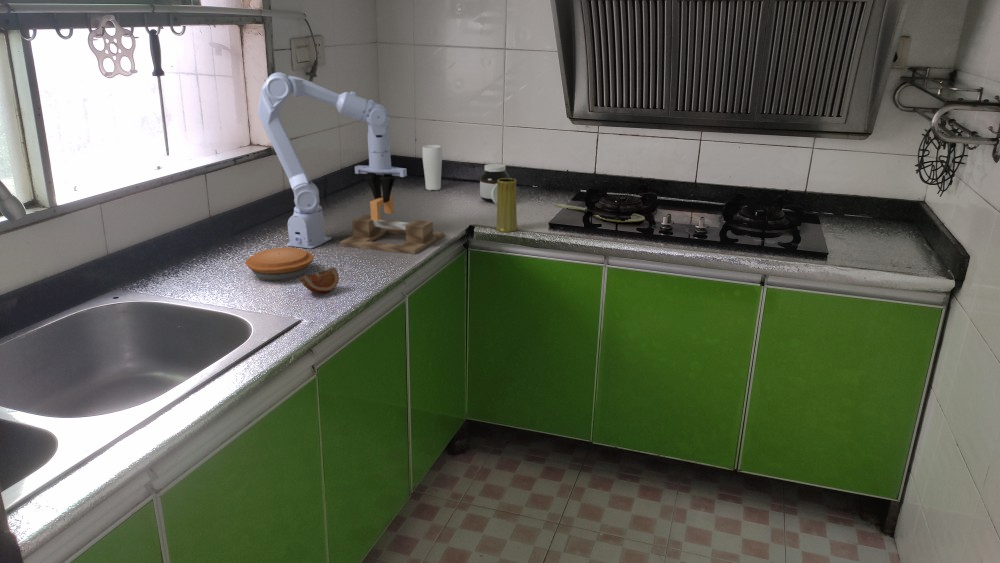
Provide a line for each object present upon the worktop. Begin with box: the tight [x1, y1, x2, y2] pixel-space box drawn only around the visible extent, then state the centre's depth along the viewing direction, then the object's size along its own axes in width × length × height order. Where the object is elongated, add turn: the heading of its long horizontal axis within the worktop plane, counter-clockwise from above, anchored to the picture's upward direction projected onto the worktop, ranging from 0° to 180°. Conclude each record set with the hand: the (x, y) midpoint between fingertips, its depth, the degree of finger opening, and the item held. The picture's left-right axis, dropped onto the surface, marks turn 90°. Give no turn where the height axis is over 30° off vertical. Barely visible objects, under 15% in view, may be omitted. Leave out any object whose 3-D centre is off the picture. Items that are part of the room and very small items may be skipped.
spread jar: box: [479, 163, 510, 205], centre depth 239 cm, size 12×11×12 cm
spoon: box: [555, 203, 646, 223], centre depth 225 cm, size 35×11×2 cm, turn 40°
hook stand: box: [339, 214, 445, 255], centre depth 199 cm, size 22×18×6 cm
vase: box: [495, 177, 518, 233], centre depth 208 cm, size 6×6×14 cm
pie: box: [244, 247, 314, 282], centre depth 174 cm, size 15×16×5 cm
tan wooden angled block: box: [369, 194, 395, 221], centre depth 200 cm, size 9×2×5 cm, turn 160°
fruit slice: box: [300, 267, 340, 295], centre depth 162 cm, size 8×7×5 cm
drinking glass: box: [421, 144, 443, 191], centre depth 257 cm, size 7×7×15 cm
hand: (382, 201), depth 200 cm, fingers closed on tan wooden angled block, 2 cm apart
